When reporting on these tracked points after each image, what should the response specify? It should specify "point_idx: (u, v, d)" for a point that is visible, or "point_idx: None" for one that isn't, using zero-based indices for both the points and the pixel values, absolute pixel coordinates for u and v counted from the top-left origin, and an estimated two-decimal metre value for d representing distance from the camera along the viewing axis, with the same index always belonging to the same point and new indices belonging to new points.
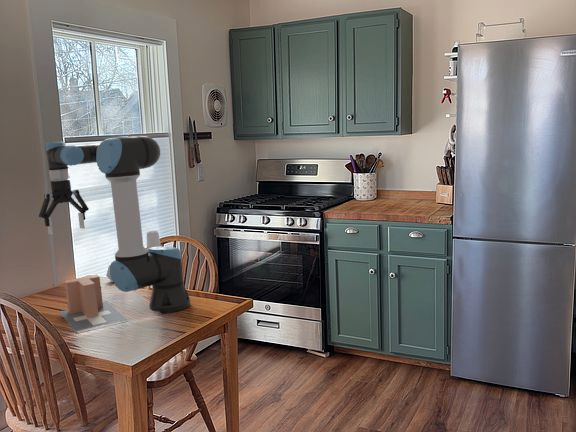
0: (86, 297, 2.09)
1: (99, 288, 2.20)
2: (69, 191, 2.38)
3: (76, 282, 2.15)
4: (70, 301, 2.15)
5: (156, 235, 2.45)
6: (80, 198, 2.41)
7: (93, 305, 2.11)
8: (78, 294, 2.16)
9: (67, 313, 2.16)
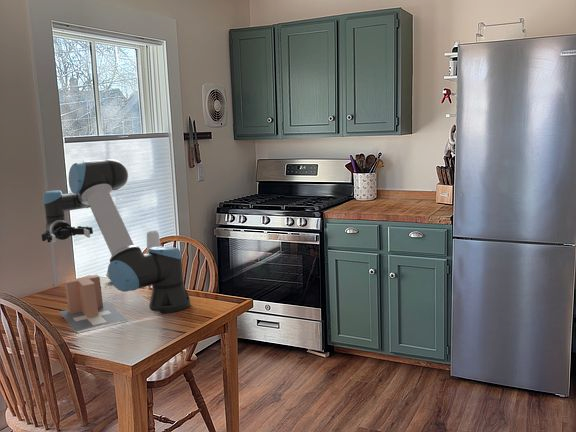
0: (86, 297, 2.09)
1: (99, 288, 2.20)
2: None
3: (76, 282, 2.15)
4: (70, 301, 2.15)
5: (156, 235, 2.45)
6: (82, 227, 2.37)
7: (93, 305, 2.11)
8: (78, 294, 2.16)
9: (67, 313, 2.16)
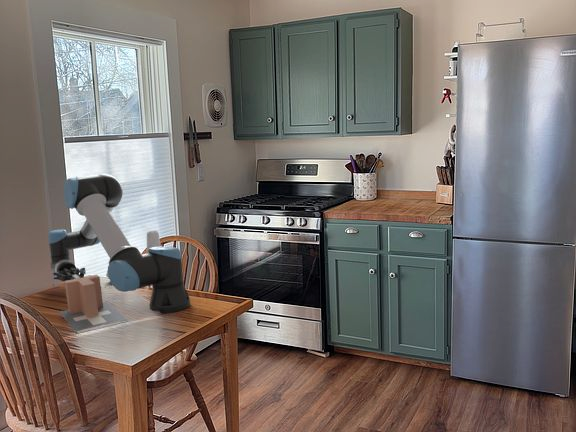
0: (86, 297, 2.09)
1: (99, 288, 2.20)
2: (76, 268, 2.42)
3: (76, 282, 2.15)
4: (70, 301, 2.15)
5: (156, 235, 2.45)
6: (81, 269, 2.38)
7: (93, 305, 2.11)
8: (78, 294, 2.16)
9: (67, 313, 2.16)
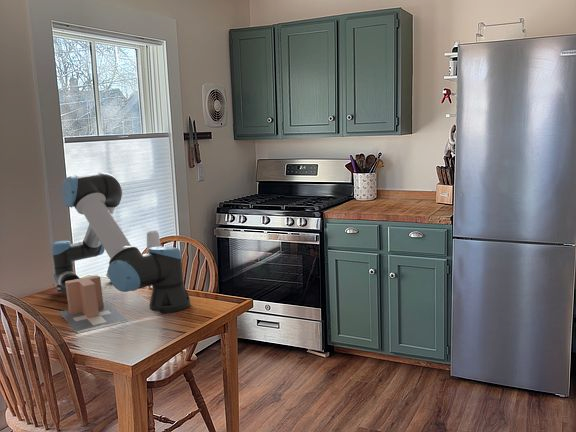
0: (87, 298, 2.08)
1: (100, 289, 2.19)
2: None
3: (77, 282, 2.15)
4: (70, 302, 2.14)
5: (156, 235, 2.45)
6: None
7: (93, 306, 2.10)
8: (79, 295, 2.15)
9: (67, 313, 2.16)
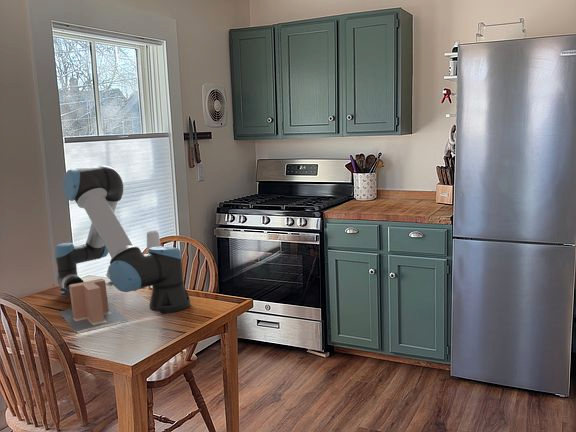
0: (91, 302, 2.02)
1: (105, 292, 2.14)
2: None
3: (81, 286, 2.09)
4: (75, 306, 2.08)
5: (156, 235, 2.45)
6: None
7: (98, 310, 2.04)
8: (83, 298, 2.10)
9: (67, 313, 2.16)
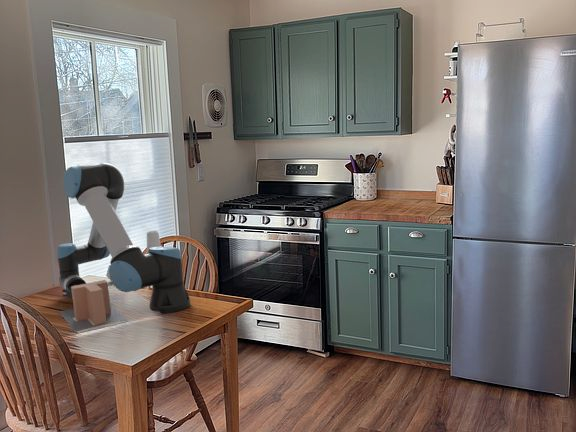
0: (94, 304, 2.00)
1: (107, 294, 2.11)
2: None
3: (83, 288, 2.06)
4: (77, 308, 2.06)
5: (156, 235, 2.45)
6: None
7: (101, 312, 2.02)
8: (85, 300, 2.07)
9: (67, 313, 2.16)
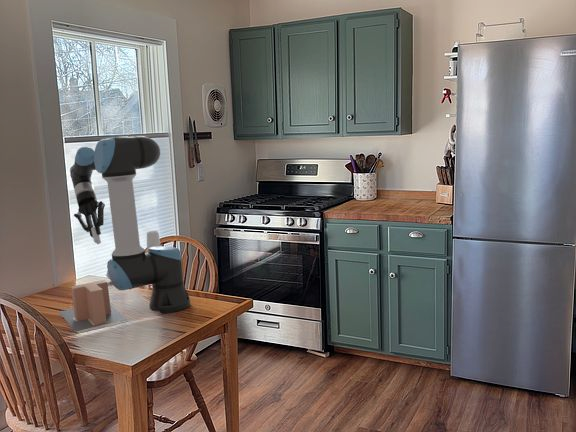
0: (94, 304, 2.00)
1: (107, 294, 2.11)
2: (94, 200, 2.33)
3: (83, 288, 2.06)
4: (77, 308, 2.06)
5: (156, 235, 2.45)
6: (99, 209, 2.30)
7: (101, 312, 2.02)
8: (85, 300, 2.07)
9: (67, 313, 2.16)
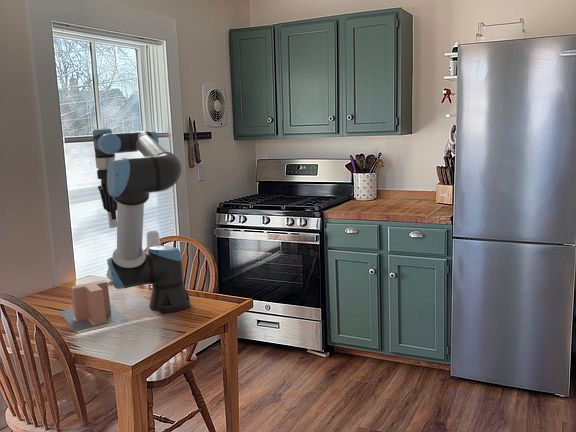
0: (94, 304, 2.00)
1: (107, 294, 2.11)
2: None
3: (83, 288, 2.06)
4: (77, 308, 2.06)
5: (156, 235, 2.45)
6: None
7: (101, 312, 2.02)
8: (85, 300, 2.07)
9: (67, 313, 2.16)
